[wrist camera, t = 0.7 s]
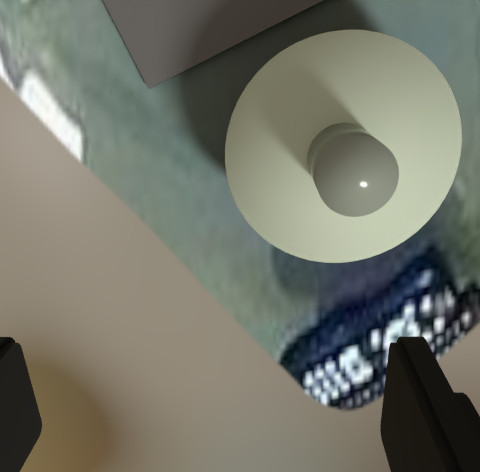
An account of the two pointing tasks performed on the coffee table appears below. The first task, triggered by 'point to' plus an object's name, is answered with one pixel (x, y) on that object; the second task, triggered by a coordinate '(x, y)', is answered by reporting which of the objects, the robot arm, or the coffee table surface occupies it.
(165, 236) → the coffee table surface
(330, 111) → the lid
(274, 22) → the mat
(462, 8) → the coffee table surface
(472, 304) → the coffee table surface
